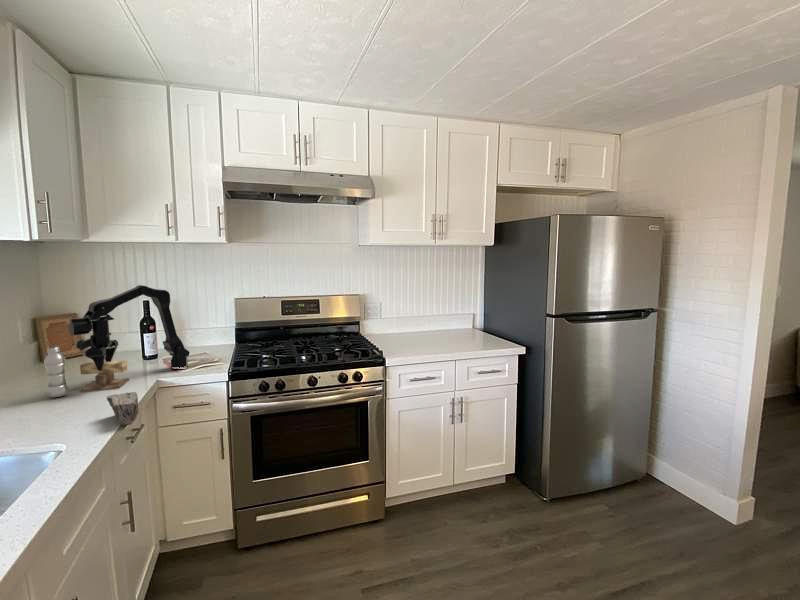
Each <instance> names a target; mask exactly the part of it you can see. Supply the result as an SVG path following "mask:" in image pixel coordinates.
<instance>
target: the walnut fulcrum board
mask: <svg viewBox="0 0 800 600" xmlns="http://www.w3.org/2000/svg"><path fill="white" fill-rule="evenodd" d="M94 377H95V380H91V381H90V382H88V383H87V384H85V386H83V387H81V388H80V390H79V391H85V392H92V391H91V390H97V391H103V390H102V389H109V390H117V389H116V388H120V387H121V388H122V387H123V386H124V385H125V384H127V383H128V382H129V380H130V378H129V377H125V378H124V377H121V378H115V373H102V374H95V376H94ZM121 388H120V389H121Z"/></svg>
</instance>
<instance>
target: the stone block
mask: <svg viewBox="0 0 800 600" xmlns="http://www.w3.org/2000/svg"><path fill="white" fill-rule="evenodd" d="M106 401H108V403H109V406H110V407H111V408H112V410H113V413H114V416H115V417H116V419H117V420H118V423H119V425H120V426H123V427H125V426H129V425H132V424H133V423H134V421H136V419H137V418H138V417H137V415H139V398H138V394H137V392H136V391H132V392H125V393H118V394H117V393H116V394H111V395H110V394H109V395H107V396H106Z"/></svg>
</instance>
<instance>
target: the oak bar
mask: <svg viewBox="0 0 800 600" xmlns="http://www.w3.org/2000/svg"><path fill="white" fill-rule="evenodd" d="M79 370H80V375H98V374H102V373H114V374H120V373H124V372H126V371H127V370H128V364H127V360H118V361H117V360H116V361H115V360H114V361H112V360H111V362H106V361H104V364H103V367H102V370H101V371H98V369H97V367H96V365H95V363H94V361H92V362H84V363H81V364H80V365H79Z"/></svg>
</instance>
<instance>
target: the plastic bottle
mask: <svg viewBox="0 0 800 600" xmlns="http://www.w3.org/2000/svg"><path fill="white" fill-rule="evenodd" d="M46 350H47V351H46V353H47V355H46V356H45V358H44V360H43V364H44V368H45V370H46V377H47V386H46V395H47V396H48V397H49V398H60V397H64V396H66V395H67V394H68V393H69V386H68V383H67V379H66V373H65V372H66V361H67V360H66V357H65V356H64V355H63V353H61V349H60V346H58V345H57V346H49V347H47V349H46Z"/></svg>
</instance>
